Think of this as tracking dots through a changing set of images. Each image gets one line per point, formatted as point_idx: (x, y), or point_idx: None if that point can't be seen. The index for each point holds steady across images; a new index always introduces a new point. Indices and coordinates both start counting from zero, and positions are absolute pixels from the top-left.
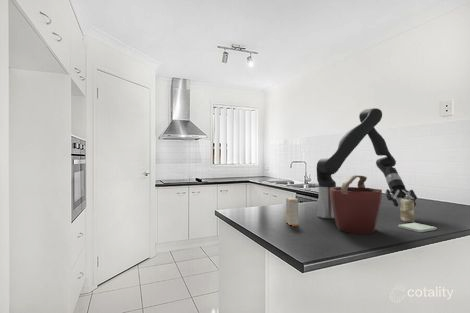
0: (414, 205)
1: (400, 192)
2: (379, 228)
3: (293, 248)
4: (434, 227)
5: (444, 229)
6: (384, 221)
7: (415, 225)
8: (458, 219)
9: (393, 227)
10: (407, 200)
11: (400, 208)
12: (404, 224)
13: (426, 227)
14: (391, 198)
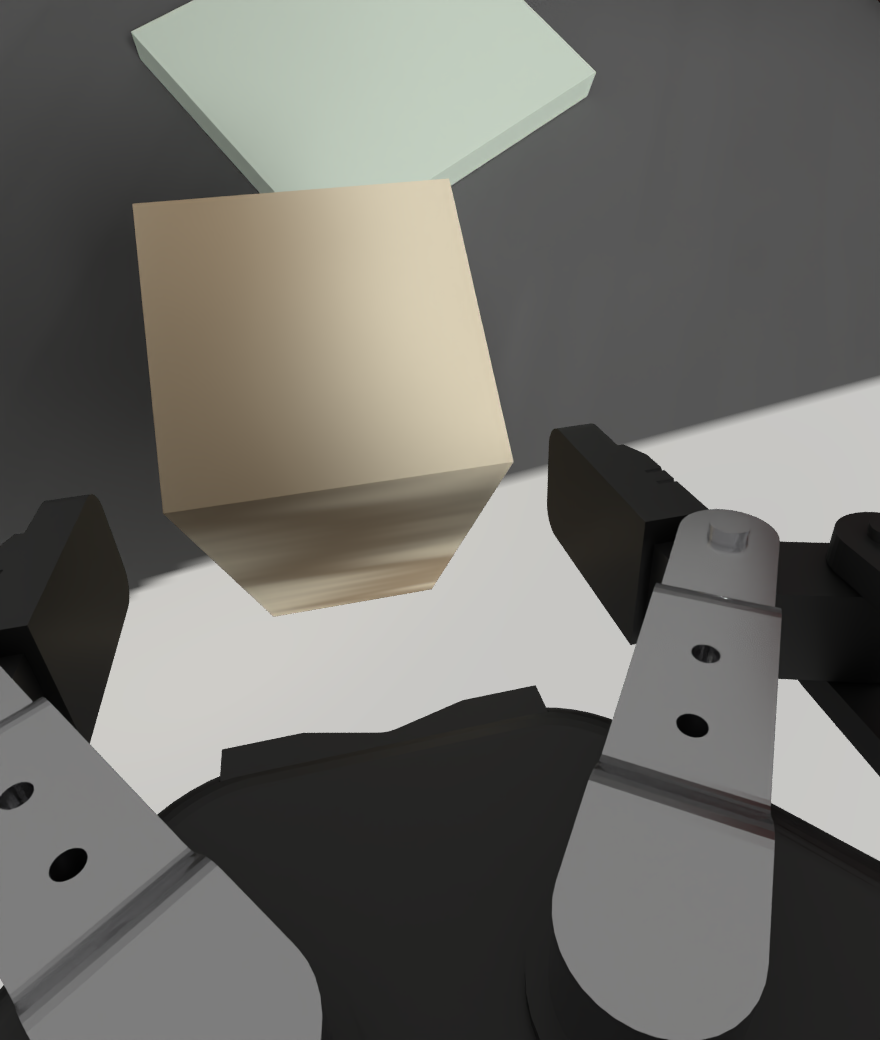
0: (89, 503)
1: (446, 930)
2: (796, 11)
3: None
4: (166, 21)
5: (25, 84)
6: (707, 378)
7: (378, 83)
8: None
9: (642, 75)
10: (349, 203)
11: (460, 537)
12: (507, 111)
13: (275, 8)
14: (803, 550)
